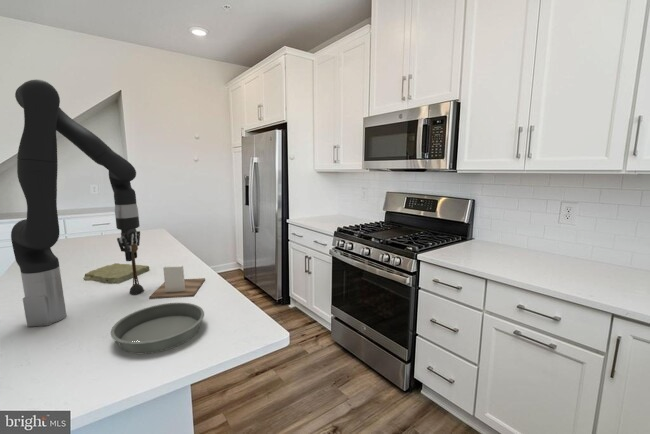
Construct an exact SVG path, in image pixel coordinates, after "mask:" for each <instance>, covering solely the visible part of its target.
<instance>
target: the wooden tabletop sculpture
mask: <svg viewBox="0 0 650 434" xmlns="http://www.w3.org/2000/svg"><path fill="white" fill-rule="evenodd" d="M128 247H129V246H128ZM138 249H139V246H137V245H136V244H134V243H133V245H132V257H133V260H132V261H131V265H132V269H133V278H132V286H131V287H130V289H129V295H131V296H136V295H139V294H143V293H144V292H145V290H144V287H143V286H142V285H141V283H139V278H138V276H137V272H136V265H137V263H136V258H135V255H134V253H135V252H136V251H137V252H138Z"/></svg>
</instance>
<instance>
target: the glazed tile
mask: <svg viewBox="0 0 650 434" xmlns="http://www.w3.org/2000/svg"><path fill="white" fill-rule="evenodd" d="M184 272H185V271H184V265H172V266H171V265H169V266H163V277H164V279H163V281H164V282H165V291H166V292H176V291H185V282H184V279H185V274H184Z"/></svg>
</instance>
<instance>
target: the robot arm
mask: <svg viewBox="0 0 650 434" xmlns="http://www.w3.org/2000/svg"><path fill="white" fill-rule="evenodd" d="M14 94H15V95H14V97H15V100H16V102H17V104H18V105H19V106H20V107H21V108H23V114H24V115H23V116H24V117H23V119H24V123H23V131H22V134H21V138H20V140H19V145H18V149H17V158H16V159H17V160H16V161H17V163H16V164H17V165H16V167H17V168H16V169H17V171H16V173H17V178H18V182H19V185H20V188H21V190H22V193H23V195H24V198H25V200H26V201H25V202H26V219H21V220H19V221H18V222H17V223H15V224H14V225H13V227H12V228H11V232H10V239H11V240H10V241H11V245H12V250H13V254H14V258H15V261H16V264H17V266H19V270H20V276H21V280H22V281H21V282H22V288H23V293H24V294H23V295H24V297H23V298H22V302H23V308H24V309H23V310H24V316H25V320H26V326H27V327H44V326H50V325H52V324H54V323H57V322H59V321H61V320H64V319H65V318H66V317H67V310H66V301H65V296H64V289H63V281H62V275H61V268H60V261H59V258H58V256H56V255H55V253H53V251H52V247H54V246H55V245H56V244H57V242H58V240H59V239H60V224H59V222H60V221H59V215H58V207H57V204H58V202H57V201H58V200H57V199H58V198H57V197H58V165H59V164H58V162H59V161H58V139H57V132H58V133H59V134H60V135H62V136H63V137H65V138H66V139H67V140H68V141H69V142H70V143H72V144H73V145H74V146H75V147H77V148H78V149H79V150H80V151H82V153H83V154H85V155H86V157H88V158H89V159H91V160H92V161H93V162H94V163H96V164H98V165H100V166H102V167H104V168H105V169H106V170H108V178H109V182H110V187H111V189H112V192H113V202H114V217H115V226H116V229H117V230H120V237H117V238H116V240H117V243H118V246H119V249H120V252H124V257H125V261H126V262H132V260H133V257H132V245H133V243H134V244H136V245H137V246H138V247H139V246H140V241H141V240H140V239H141V231H140V230H138V231H137V229H138V228H139V227H140V226H141V225H140V217H139V207H138V205H137V195H136V191H135V189H133V187H132V185H131V184H132V183H131V182H132V181H133V180H135V178H136V177H137V171H136V168H135V167H134V166H133V164H132V163H131V162H129V161H128V160H127V159H125V158H124V157H123V156H122V155H120V154H118V153H117V152H115V151H114V150H113V149H112V148H111V147H110V146H109V145H108V144H106V143H105V141H103V140H102V139H101V138H100V137H98V135H96V134H94V133H93V132H92V131H90V129H87V128H86V127H84V126H83V125H81V124H80V123H78V122H77V121H76V120H74V119H72V117H70V116H69V115H68V114H67V113H66V112H65V111H64V110H63V109H62V108H61V107H60V104H61V103H60V102H61V99H60V95H59V92H58V91H57V89H56V88H55V86H53V85H52V84H51V83H49V82H48V81H46V80H43V79H30V80H27V81H25V82H24V83H22V84H21V85H20V86H18V87H17V88H16V90H15V93H14ZM128 246H129V247H128ZM134 255H135V259H137V258H138V250H137V251H136V252H135V253H134Z"/></svg>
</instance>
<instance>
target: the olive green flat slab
mask: <svg viewBox="0 0 650 434" xmlns="http://www.w3.org/2000/svg"><path fill="white" fill-rule="evenodd" d="M150 271H151V270H150V266H149V265H142V264H136V272H137V277H138V276H140V275H143V274H145V273H147V272H150ZM131 279H132V280H133V269H132V263H131V264H130V263H115V262H114V263H113V264H108V265H105V266H102V267H99V268H96V269H92V270H90V271H89V272H86V273H85V274H84V277H83V281H90V282H91V281H94V282H99V283H103V284H116V285H120V284H121V283H122V284H123V283H124V282H126V281H129V280H131Z"/></svg>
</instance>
